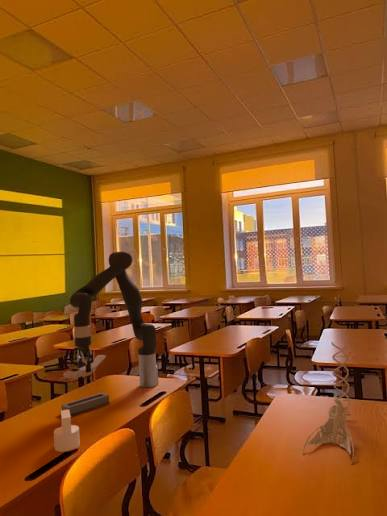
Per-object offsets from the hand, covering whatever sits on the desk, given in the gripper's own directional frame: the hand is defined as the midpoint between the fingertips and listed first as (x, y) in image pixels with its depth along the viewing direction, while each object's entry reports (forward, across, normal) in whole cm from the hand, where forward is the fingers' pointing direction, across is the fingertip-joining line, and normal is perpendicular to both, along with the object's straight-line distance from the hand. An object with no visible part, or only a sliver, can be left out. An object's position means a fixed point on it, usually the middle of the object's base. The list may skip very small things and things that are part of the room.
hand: (84, 370), depth 192 cm
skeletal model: (+18, -104, -37) cm, 112 cm away
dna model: (+18, -95, -63) cm, 115 cm away
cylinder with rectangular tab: (+18, -30, +25) cm, 43 cm away
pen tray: (+18, 0, 0) cm, 18 cm away
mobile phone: (+2, 0, 0) cm, 2 cm away
